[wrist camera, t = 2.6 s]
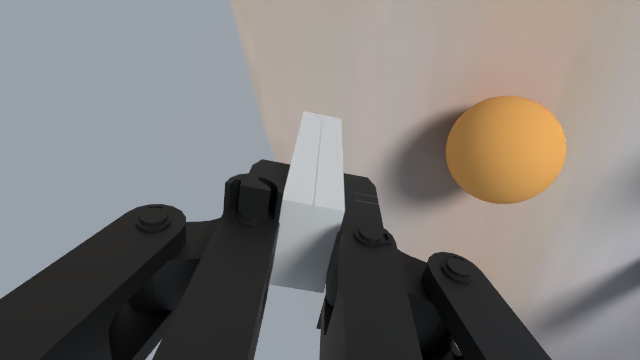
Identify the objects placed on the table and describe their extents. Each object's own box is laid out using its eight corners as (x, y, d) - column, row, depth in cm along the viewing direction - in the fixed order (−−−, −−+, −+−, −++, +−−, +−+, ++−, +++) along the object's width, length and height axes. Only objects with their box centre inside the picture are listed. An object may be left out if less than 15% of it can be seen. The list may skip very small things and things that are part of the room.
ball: (550, 94, 20) (619, 130, 15) (507, 180, 22) (554, 234, 18) (454, 75, 19) (493, 105, 15) (422, 164, 22) (446, 214, 17)
